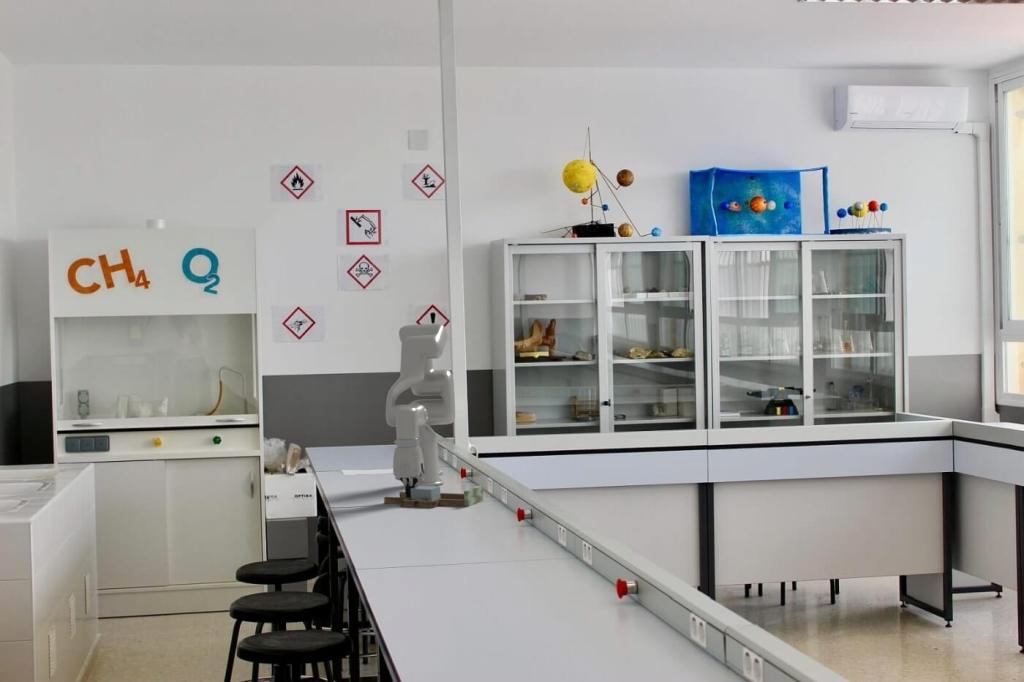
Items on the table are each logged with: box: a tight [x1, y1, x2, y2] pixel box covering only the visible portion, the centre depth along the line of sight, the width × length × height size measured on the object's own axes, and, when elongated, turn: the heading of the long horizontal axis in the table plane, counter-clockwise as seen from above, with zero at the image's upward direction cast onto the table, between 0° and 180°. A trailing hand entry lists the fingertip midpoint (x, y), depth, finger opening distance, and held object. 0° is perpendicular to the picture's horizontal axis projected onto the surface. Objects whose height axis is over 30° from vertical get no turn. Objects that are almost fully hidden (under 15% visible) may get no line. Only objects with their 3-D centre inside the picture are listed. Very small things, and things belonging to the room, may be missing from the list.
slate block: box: [411, 485, 441, 501], centre depth 372 cm, size 6×8×5 cm
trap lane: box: [383, 485, 485, 509], centre depth 370 cm, size 16×32×5 cm, turn 66°
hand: (410, 497), depth 376 cm, fingers closed
